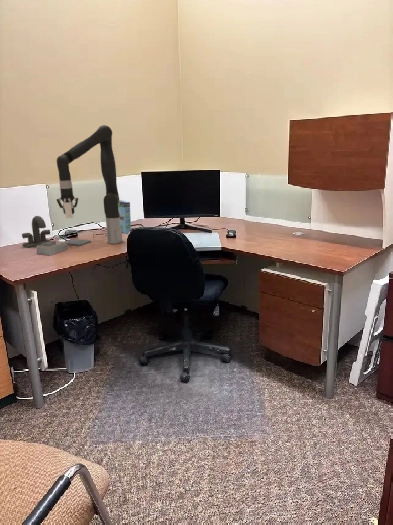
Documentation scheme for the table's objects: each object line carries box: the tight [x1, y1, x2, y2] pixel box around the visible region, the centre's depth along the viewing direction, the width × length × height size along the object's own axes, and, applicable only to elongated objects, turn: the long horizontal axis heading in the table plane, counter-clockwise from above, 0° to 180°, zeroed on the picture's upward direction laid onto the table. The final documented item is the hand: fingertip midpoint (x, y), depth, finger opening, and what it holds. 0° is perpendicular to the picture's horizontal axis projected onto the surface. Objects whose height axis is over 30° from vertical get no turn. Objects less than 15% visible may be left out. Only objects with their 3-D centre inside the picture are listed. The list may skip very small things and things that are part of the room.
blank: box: [63, 202, 74, 219], centre depth 269 cm, size 5×4×10 cm
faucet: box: [21, 215, 51, 249], centre depth 272 cm, size 18×16×20 cm
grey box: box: [35, 239, 68, 256], centre depth 260 cm, size 10×15×5 cm
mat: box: [65, 238, 92, 247], centre depth 280 cm, size 14×12×1 cm
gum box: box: [118, 199, 132, 235], centre depth 310 cm, size 20×5×23 cm, turn 39°
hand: (69, 213), depth 270 cm, fingers closed on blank, 4 cm apart
